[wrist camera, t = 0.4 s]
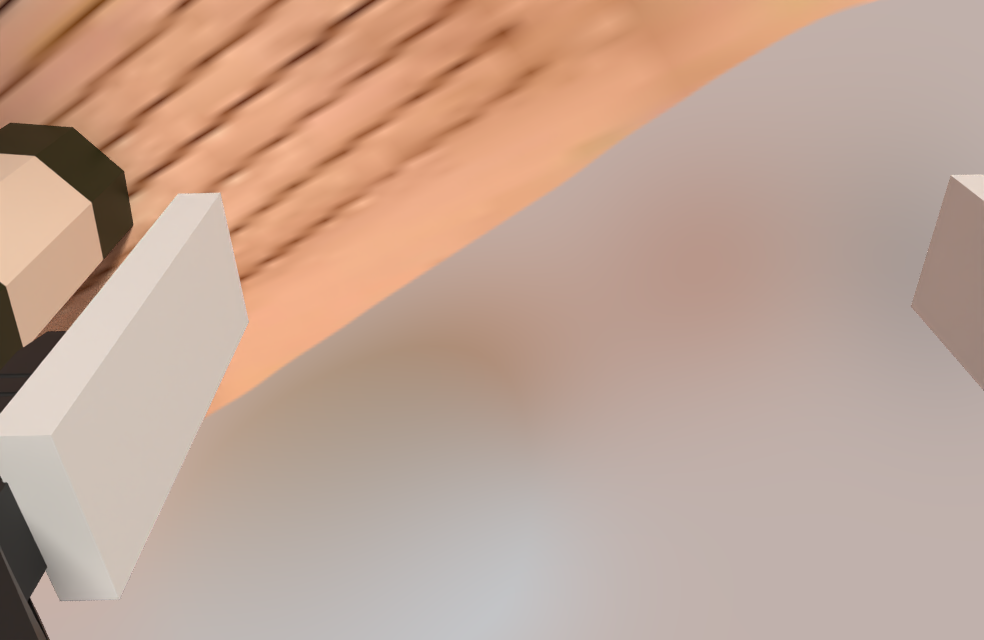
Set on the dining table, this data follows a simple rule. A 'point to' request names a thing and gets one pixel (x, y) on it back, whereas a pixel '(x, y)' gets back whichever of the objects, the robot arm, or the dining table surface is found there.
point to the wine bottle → (52, 224)
